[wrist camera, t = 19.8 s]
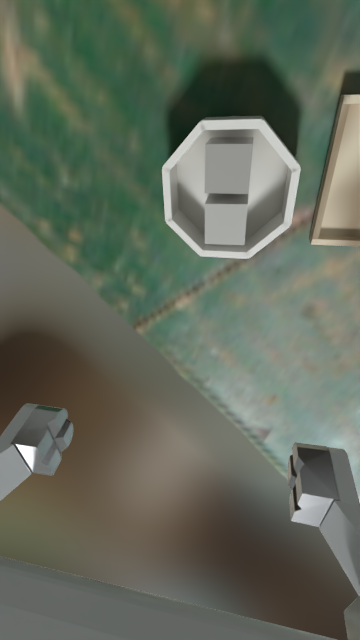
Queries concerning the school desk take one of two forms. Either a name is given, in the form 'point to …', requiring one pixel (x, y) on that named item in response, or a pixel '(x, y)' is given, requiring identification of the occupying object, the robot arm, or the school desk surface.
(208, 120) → the bowl
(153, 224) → the school desk surface
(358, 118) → the tray
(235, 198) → the grey cube
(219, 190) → the grey rectangular block
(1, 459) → the robot arm
